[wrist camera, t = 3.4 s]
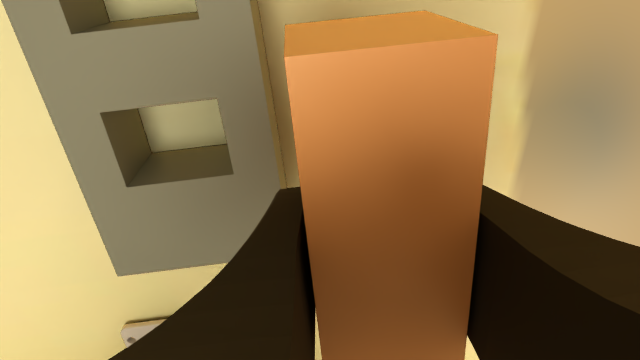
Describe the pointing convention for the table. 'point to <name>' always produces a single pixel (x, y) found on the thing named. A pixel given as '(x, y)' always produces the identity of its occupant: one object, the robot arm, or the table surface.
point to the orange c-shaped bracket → (391, 177)
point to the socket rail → (128, 133)
